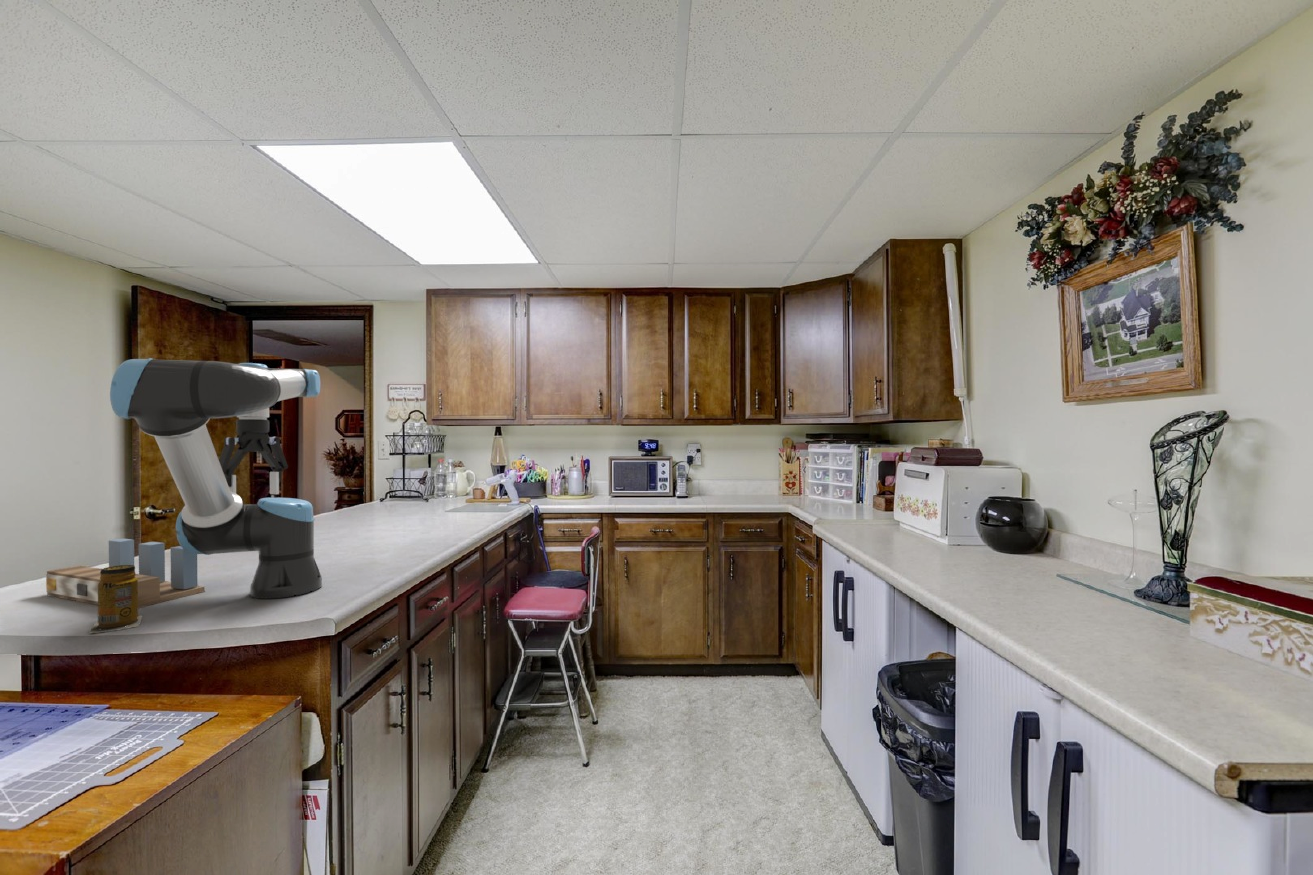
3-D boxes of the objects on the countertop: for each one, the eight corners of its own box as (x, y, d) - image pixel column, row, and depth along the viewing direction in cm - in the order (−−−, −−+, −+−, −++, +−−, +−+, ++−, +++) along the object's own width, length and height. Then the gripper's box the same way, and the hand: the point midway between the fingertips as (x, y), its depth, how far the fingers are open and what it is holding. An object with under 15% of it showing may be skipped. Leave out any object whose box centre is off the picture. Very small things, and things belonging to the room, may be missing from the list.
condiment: (142, 616, 121) (141, 561, 121) (138, 626, 114) (138, 569, 114) (95, 623, 116) (94, 567, 116) (88, 635, 110) (87, 575, 109)
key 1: (134, 576, 148) (134, 539, 147) (120, 579, 145) (119, 541, 145) (123, 575, 149) (122, 538, 149) (109, 577, 146) (108, 540, 146)
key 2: (197, 586, 139) (197, 546, 138) (183, 589, 136) (183, 549, 136) (184, 584, 140) (184, 545, 140) (170, 587, 137) (170, 547, 137)
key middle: (165, 581, 143) (164, 542, 143) (151, 584, 140) (150, 545, 140) (153, 579, 145) (152, 541, 145) (139, 582, 142) (138, 543, 142)
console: (204, 591, 139) (204, 567, 139) (123, 611, 124) (123, 584, 124) (125, 579, 151) (125, 557, 150) (42, 596, 135) (42, 571, 135)
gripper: (284, 419, 168) (284, 491, 168) (197, 418, 146) (198, 500, 146) (301, 419, 165) (302, 492, 165) (216, 417, 143) (217, 502, 143)
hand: (253, 496), depth 156 cm, fingers open, 11 cm apart
